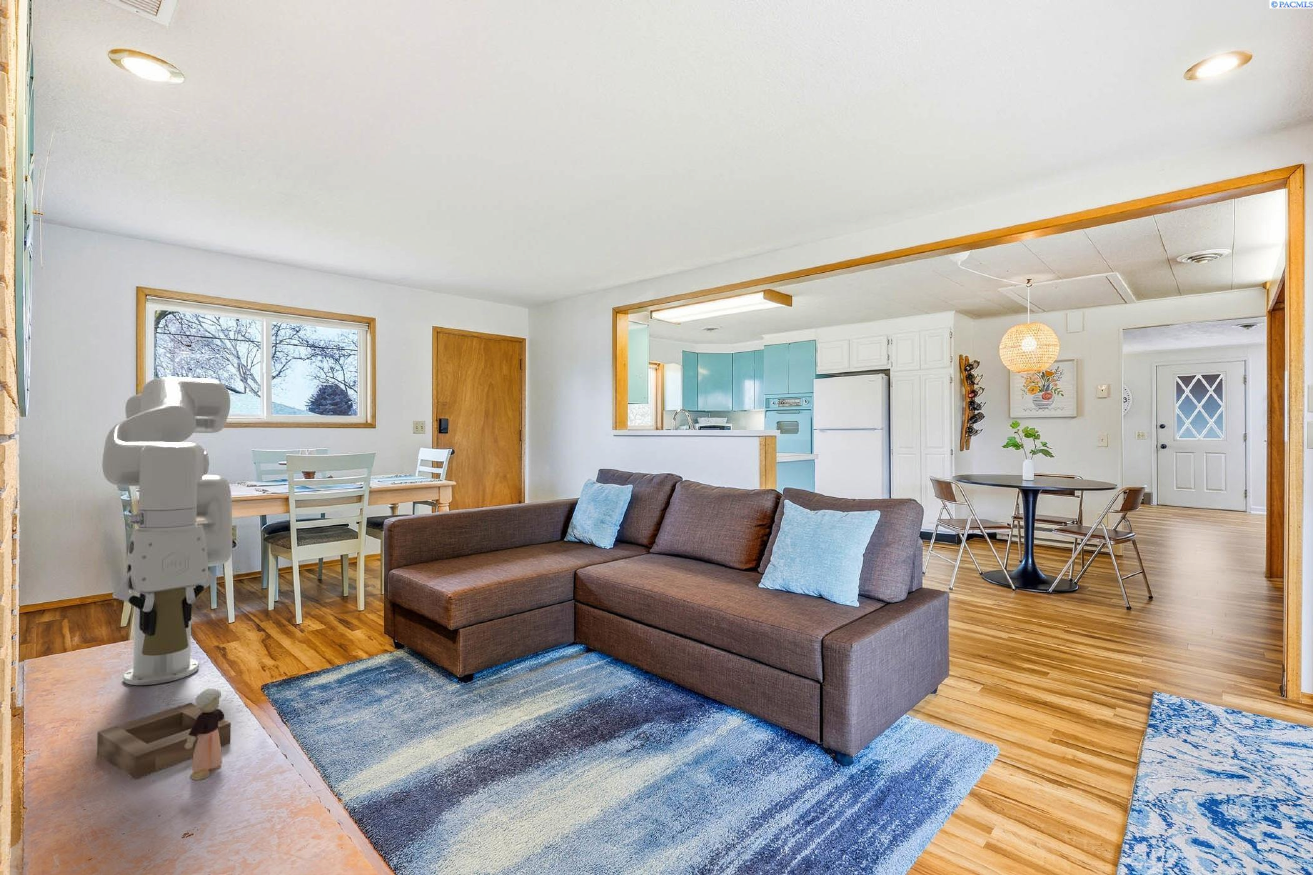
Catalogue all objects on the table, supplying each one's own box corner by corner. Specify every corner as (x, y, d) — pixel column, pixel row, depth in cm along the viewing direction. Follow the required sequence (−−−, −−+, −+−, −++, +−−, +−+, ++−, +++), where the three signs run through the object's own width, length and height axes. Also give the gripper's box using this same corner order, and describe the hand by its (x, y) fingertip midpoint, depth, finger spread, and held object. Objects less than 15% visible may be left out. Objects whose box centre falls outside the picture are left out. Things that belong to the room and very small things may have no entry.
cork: (162, 657, 99) (163, 587, 99) (131, 653, 100) (133, 585, 100) (197, 644, 105) (198, 579, 105) (168, 641, 106) (169, 577, 106)
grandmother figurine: (207, 783, 93) (209, 698, 93) (179, 785, 92) (181, 699, 92) (234, 756, 100) (235, 678, 100) (207, 758, 100) (209, 679, 100)
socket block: (97, 753, 100) (97, 731, 100) (190, 721, 111) (190, 702, 111) (135, 779, 93) (135, 756, 93) (230, 743, 104) (230, 722, 104)
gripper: (113, 527, 93) (111, 649, 93) (235, 516, 108) (233, 621, 108) (93, 522, 97) (91, 640, 97) (213, 512, 111) (211, 614, 111)
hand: (165, 629), depth 102 cm, fingers closed on cork, 3 cm apart
